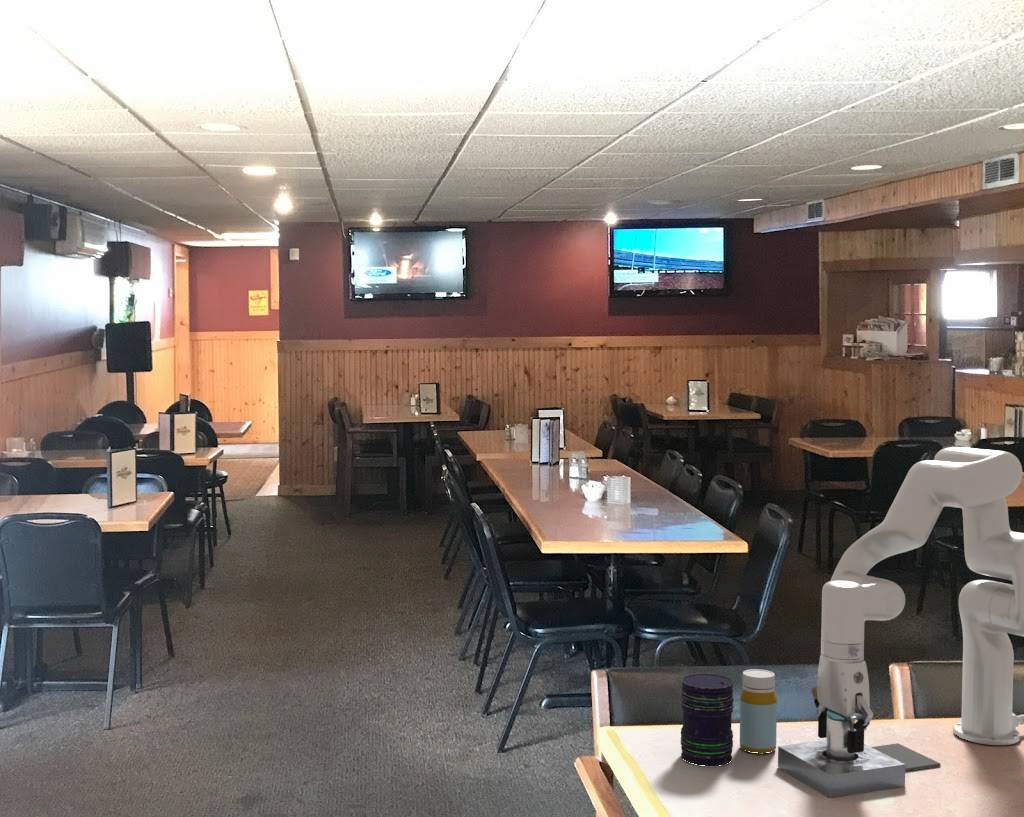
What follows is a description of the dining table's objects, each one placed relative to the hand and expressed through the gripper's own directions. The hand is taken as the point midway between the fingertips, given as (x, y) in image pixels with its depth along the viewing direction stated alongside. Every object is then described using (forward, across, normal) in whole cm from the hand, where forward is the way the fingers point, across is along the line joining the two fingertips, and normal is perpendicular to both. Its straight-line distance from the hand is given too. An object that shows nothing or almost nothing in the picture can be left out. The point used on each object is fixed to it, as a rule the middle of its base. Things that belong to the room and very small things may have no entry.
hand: (840, 743), depth 214 cm
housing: (+6, 0, 0) cm, 6 cm away
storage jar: (+6, +17, +18) cm, 26 cm away
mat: (+6, +4, -15) cm, 17 cm away
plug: (+6, 0, 0) cm, 6 cm away
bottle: (+6, +18, +6) cm, 20 cm away
